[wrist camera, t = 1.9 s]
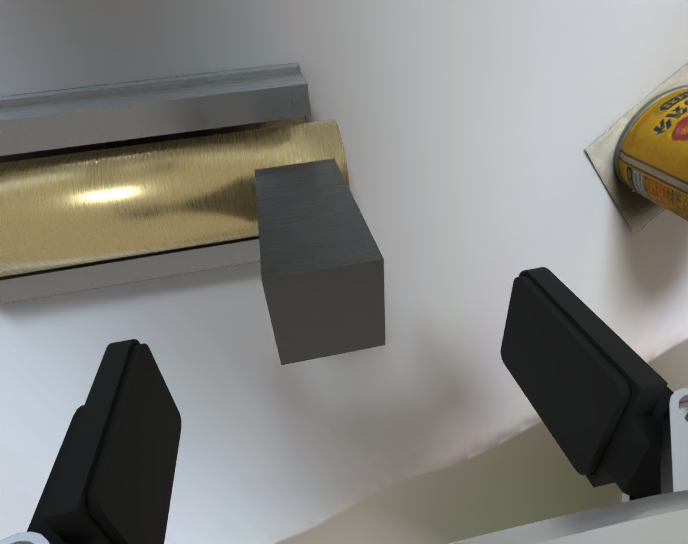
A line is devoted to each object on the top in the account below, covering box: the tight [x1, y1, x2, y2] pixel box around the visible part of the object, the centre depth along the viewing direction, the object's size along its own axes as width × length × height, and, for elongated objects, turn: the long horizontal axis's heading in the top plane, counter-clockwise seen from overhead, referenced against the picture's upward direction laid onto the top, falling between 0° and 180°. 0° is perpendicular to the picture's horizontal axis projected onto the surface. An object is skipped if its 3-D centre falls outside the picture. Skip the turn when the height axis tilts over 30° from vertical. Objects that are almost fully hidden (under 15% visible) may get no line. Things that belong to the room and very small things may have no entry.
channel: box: [0, 63, 311, 304], centre depth 19 cm, size 8×18×3 cm, turn 94°
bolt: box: [0, 119, 385, 365], centre depth 15 cm, size 4×20×11 cm, turn 94°
